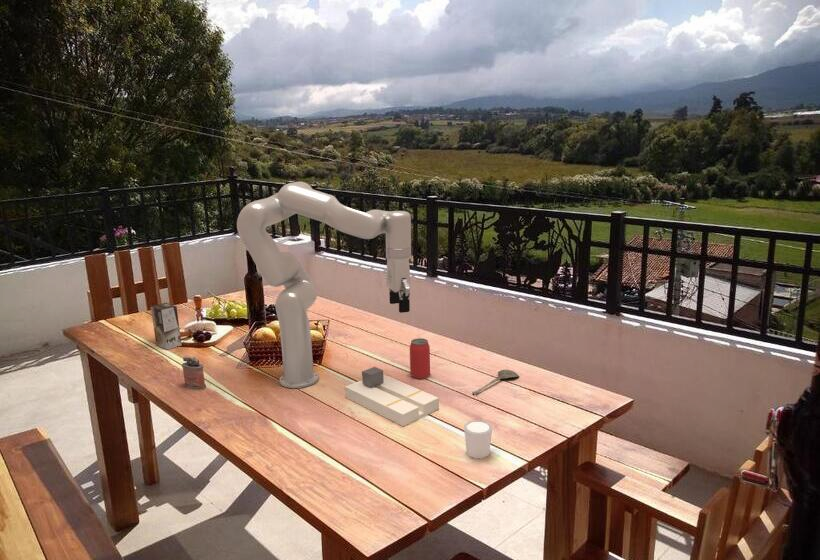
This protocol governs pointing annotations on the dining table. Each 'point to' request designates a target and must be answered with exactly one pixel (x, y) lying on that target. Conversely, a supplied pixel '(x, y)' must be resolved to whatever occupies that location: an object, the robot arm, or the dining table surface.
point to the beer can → (419, 358)
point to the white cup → (478, 438)
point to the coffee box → (166, 325)
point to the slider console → (393, 400)
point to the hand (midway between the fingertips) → (399, 307)
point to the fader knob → (372, 377)
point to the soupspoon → (501, 375)
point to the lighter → (193, 373)
